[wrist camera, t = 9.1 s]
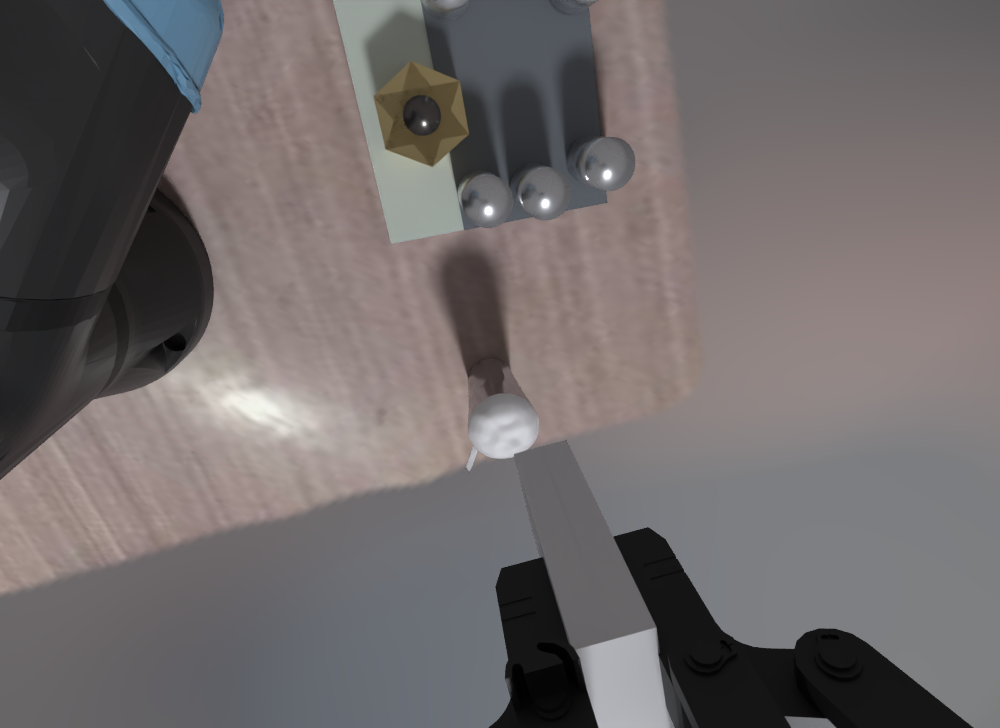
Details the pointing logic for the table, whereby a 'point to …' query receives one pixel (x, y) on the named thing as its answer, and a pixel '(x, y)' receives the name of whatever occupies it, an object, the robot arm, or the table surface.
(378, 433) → the table surface
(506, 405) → the milkshake
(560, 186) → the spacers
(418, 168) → the mat
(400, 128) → the nut
